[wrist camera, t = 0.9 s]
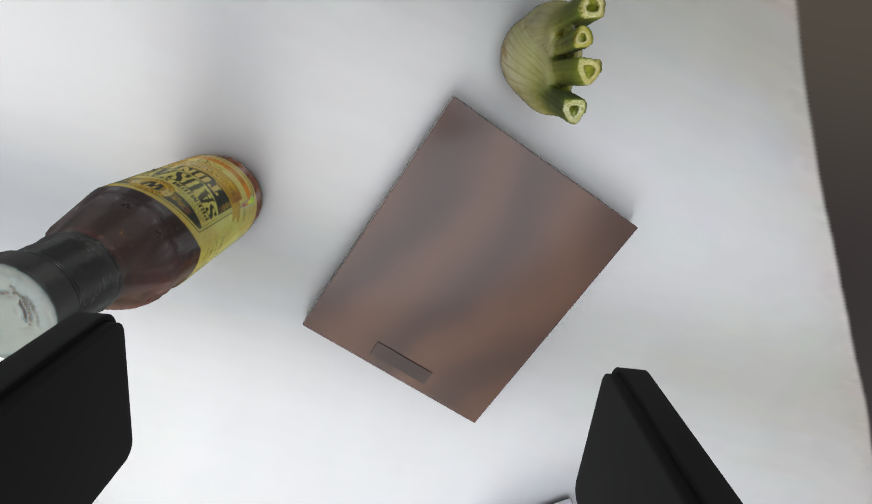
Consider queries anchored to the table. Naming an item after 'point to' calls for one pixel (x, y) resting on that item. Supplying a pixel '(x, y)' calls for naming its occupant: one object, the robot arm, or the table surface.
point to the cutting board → (467, 264)
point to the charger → (565, 502)
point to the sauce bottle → (126, 245)
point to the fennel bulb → (553, 56)
